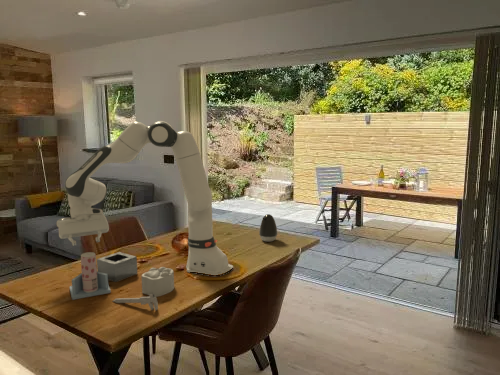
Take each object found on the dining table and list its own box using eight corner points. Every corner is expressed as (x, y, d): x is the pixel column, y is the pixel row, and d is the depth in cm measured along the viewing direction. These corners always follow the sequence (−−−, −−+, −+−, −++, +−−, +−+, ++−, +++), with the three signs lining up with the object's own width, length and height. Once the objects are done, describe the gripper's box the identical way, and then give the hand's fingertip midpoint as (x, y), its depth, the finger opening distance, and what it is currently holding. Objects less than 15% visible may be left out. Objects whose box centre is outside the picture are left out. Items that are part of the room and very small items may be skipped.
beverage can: (85, 287, 174) (82, 252, 172) (99, 287, 175) (97, 251, 172) (81, 293, 169) (78, 256, 166) (96, 292, 169) (93, 256, 167)
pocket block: (137, 273, 193) (136, 256, 191) (115, 282, 183) (114, 264, 182) (119, 268, 199) (118, 252, 198) (97, 276, 190) (96, 259, 188)
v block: (69, 289, 176) (68, 272, 175) (106, 282, 182) (105, 266, 181) (72, 299, 166) (70, 282, 165) (110, 292, 172) (109, 275, 171)
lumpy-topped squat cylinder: (138, 291, 173) (137, 271, 172) (163, 282, 183) (162, 262, 182) (155, 298, 167) (154, 277, 165) (180, 287, 177) (179, 267, 175)
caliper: (158, 310, 157) (157, 294, 156) (156, 311, 156) (155, 295, 155) (113, 301, 165) (113, 285, 164) (112, 302, 164) (111, 286, 163)
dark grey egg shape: (255, 241, 241) (255, 214, 239) (265, 237, 250) (265, 211, 247) (270, 244, 235) (270, 217, 233) (280, 239, 244) (280, 213, 241)
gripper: (55, 215, 181) (59, 243, 174) (106, 209, 190) (111, 235, 183) (56, 223, 185) (59, 251, 178) (105, 217, 194) (110, 243, 187)
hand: (86, 243), depth 181 cm, fingers open, 8 cm apart
